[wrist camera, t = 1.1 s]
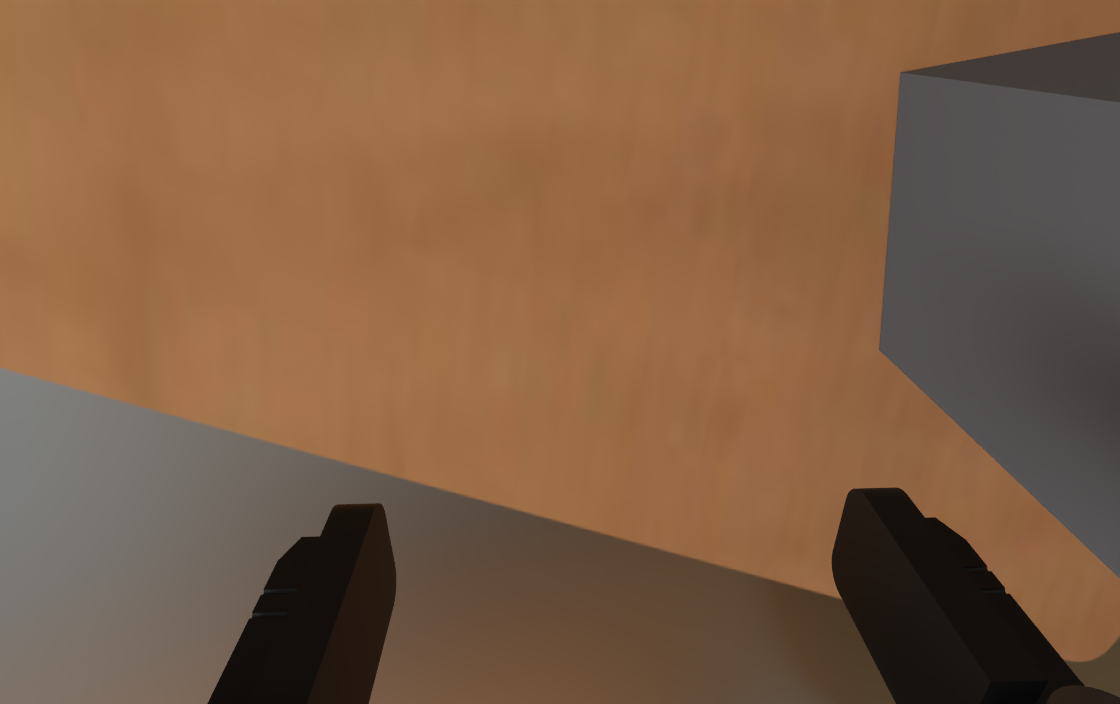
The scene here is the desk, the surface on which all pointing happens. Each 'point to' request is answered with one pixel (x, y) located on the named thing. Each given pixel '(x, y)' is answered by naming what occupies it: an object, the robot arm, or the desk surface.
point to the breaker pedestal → (1016, 267)
